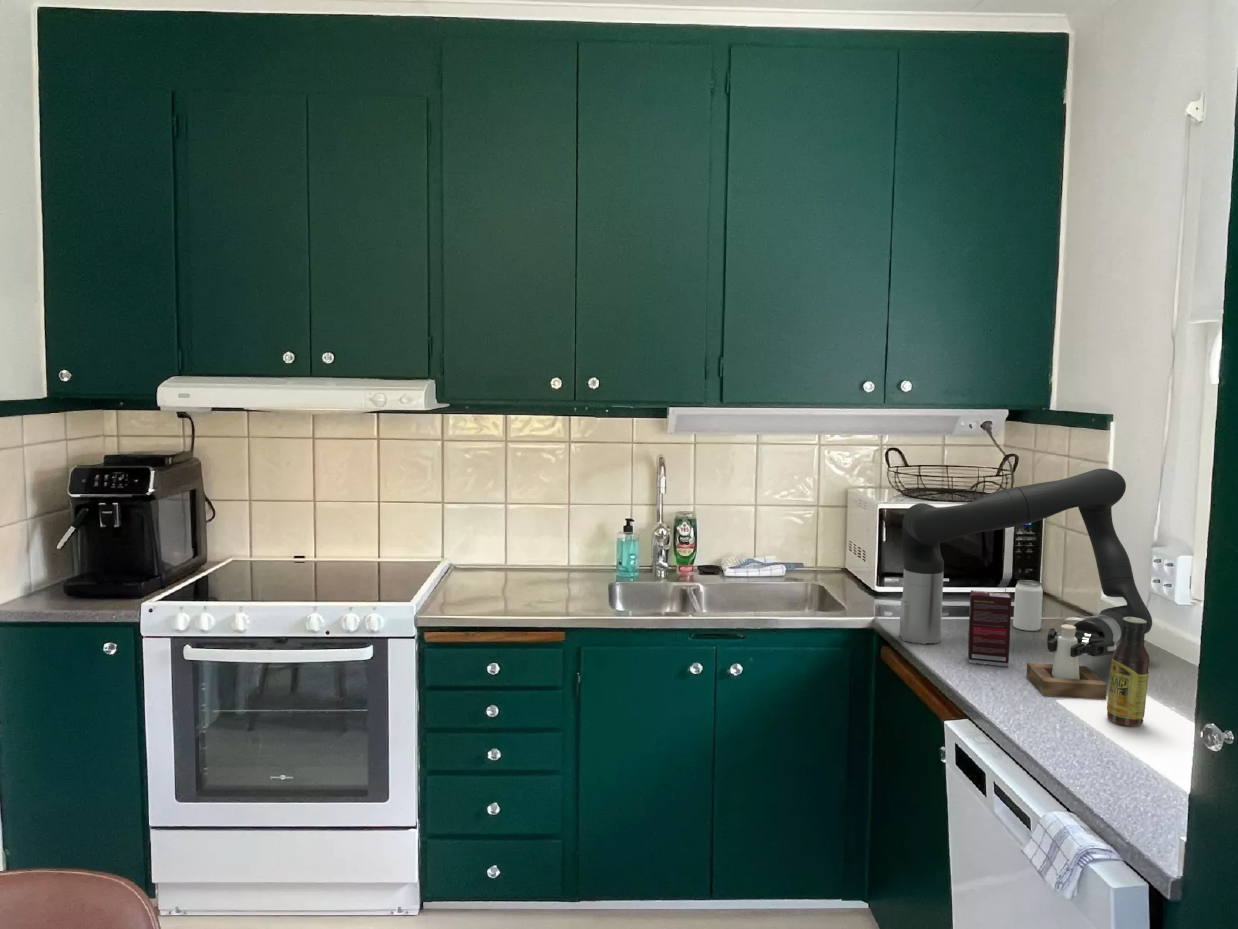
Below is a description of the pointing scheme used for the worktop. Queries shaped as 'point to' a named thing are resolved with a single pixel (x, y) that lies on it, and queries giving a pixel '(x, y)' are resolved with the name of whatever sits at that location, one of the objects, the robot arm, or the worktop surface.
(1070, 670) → the pepper shaker
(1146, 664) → the sauce bottle
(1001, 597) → the supplement box
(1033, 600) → the can
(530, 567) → the worktop surface
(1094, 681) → the socket block
